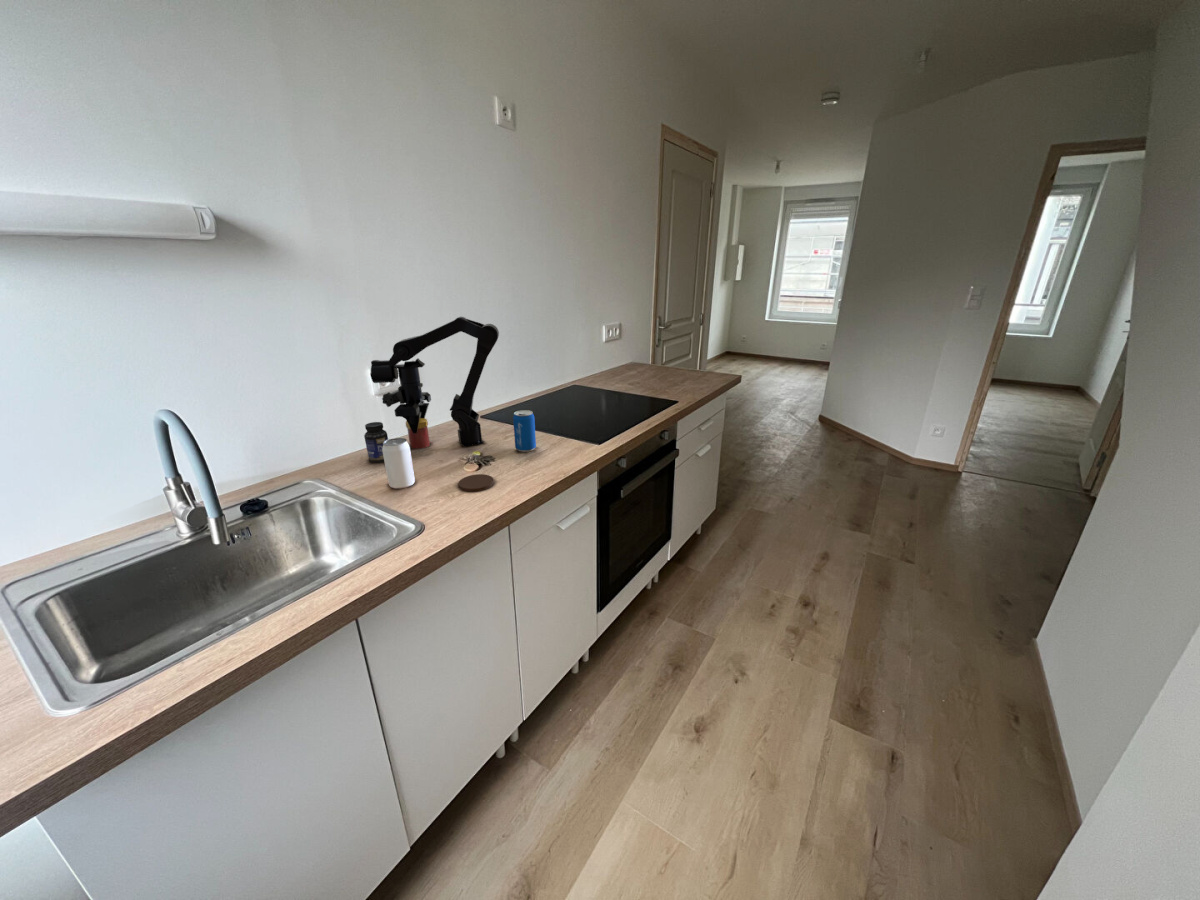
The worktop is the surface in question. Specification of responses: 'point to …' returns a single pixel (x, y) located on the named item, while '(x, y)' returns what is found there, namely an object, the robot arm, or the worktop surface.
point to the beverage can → (524, 430)
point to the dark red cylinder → (419, 438)
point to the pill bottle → (375, 441)
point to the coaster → (476, 482)
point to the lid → (422, 423)
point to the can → (398, 463)
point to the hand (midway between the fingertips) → (417, 429)
